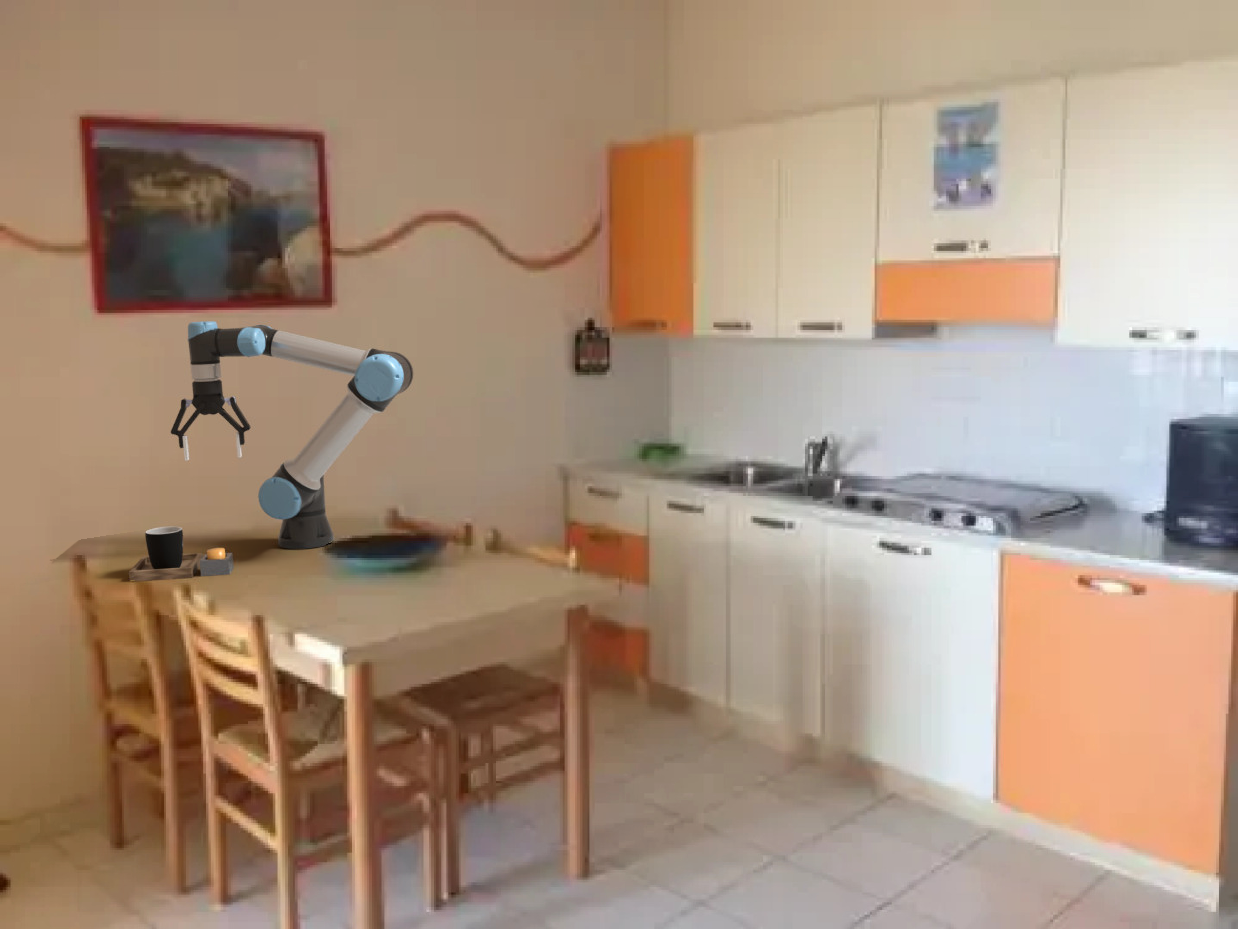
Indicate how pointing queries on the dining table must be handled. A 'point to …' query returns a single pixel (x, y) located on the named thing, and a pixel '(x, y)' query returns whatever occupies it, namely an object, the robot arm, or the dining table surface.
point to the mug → (165, 547)
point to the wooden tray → (186, 570)
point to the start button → (216, 553)
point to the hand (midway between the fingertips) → (213, 458)
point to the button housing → (216, 565)
